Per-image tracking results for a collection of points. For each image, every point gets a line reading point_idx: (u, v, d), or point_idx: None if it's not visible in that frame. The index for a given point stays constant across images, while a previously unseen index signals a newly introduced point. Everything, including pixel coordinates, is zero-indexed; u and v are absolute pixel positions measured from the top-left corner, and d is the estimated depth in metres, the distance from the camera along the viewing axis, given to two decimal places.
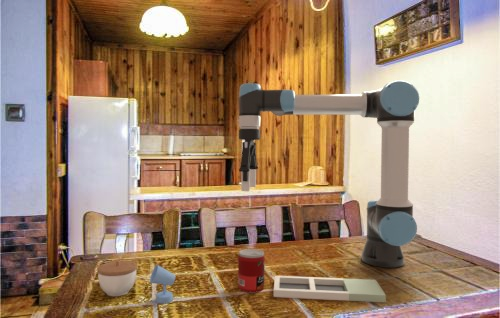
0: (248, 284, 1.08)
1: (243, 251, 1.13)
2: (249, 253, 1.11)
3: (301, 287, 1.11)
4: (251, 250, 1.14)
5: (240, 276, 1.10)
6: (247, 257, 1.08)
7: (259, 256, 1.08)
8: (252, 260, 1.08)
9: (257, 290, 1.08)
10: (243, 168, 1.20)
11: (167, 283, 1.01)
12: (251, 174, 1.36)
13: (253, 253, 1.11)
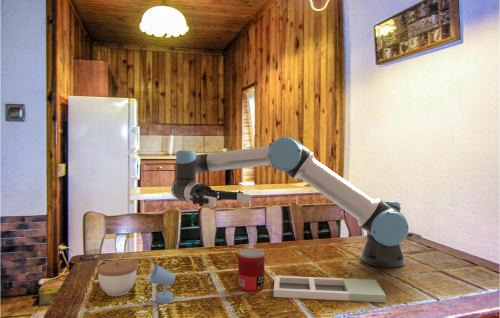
0: (248, 284, 1.08)
1: (243, 251, 1.13)
2: (249, 253, 1.11)
3: (301, 287, 1.11)
4: (251, 250, 1.14)
5: (240, 276, 1.10)
6: (247, 257, 1.08)
7: (259, 256, 1.08)
8: (252, 260, 1.08)
9: (257, 290, 1.08)
10: (193, 200, 1.18)
11: (167, 283, 1.01)
12: (240, 198, 1.26)
13: (253, 253, 1.11)
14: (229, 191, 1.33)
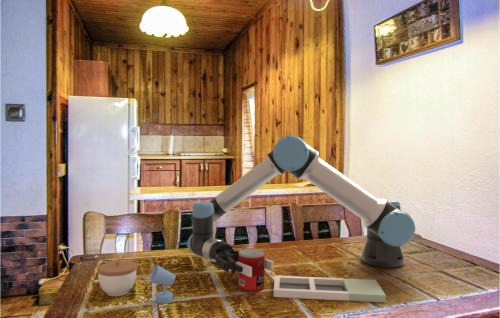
0: (248, 284, 1.08)
1: (243, 251, 1.13)
2: (249, 253, 1.11)
3: (301, 287, 1.11)
4: (251, 250, 1.14)
5: (240, 276, 1.10)
6: (247, 257, 1.08)
7: (259, 256, 1.08)
8: (252, 260, 1.08)
9: (257, 290, 1.08)
10: (225, 268, 1.09)
11: (167, 283, 1.01)
12: None
13: (253, 253, 1.11)
14: None
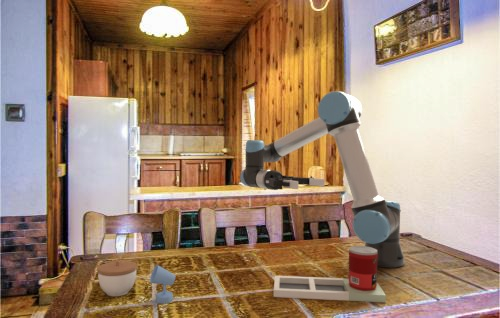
0: (363, 282, 1.04)
1: (353, 248, 1.09)
2: (361, 250, 1.08)
3: (301, 287, 1.11)
4: (360, 247, 1.11)
5: (353, 274, 1.06)
6: (363, 254, 1.04)
7: (374, 253, 1.05)
8: (367, 257, 1.04)
9: (372, 288, 1.05)
10: (274, 184, 1.28)
11: (167, 283, 1.01)
12: (313, 182, 1.36)
13: (365, 250, 1.08)
14: (299, 177, 1.43)
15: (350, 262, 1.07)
